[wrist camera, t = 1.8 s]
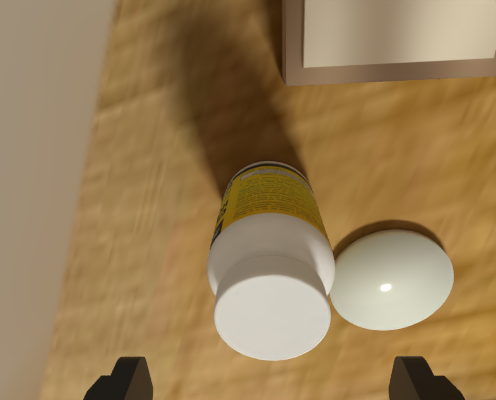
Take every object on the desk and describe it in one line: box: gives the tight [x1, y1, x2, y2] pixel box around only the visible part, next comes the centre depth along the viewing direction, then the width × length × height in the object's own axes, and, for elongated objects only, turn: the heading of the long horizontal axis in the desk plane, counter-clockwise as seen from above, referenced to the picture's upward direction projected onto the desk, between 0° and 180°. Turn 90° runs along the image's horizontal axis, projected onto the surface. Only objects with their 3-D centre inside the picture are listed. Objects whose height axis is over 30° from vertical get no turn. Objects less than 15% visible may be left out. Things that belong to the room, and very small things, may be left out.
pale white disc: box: [329, 229, 454, 330], centre depth 25 cm, size 9×9×1 cm
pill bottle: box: [207, 161, 335, 360], centre depth 18 cm, size 6×6×11 cm
